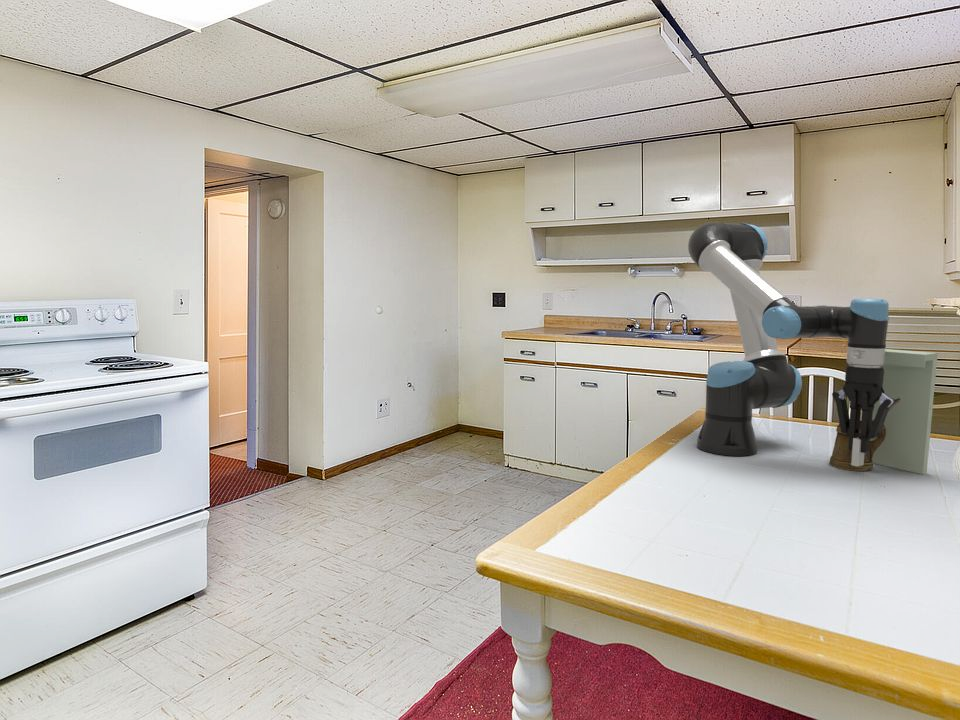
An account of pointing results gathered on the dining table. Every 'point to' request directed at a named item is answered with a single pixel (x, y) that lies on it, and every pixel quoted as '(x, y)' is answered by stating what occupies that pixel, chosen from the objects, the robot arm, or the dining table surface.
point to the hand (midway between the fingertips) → (857, 464)
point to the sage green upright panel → (907, 410)
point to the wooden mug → (844, 455)
